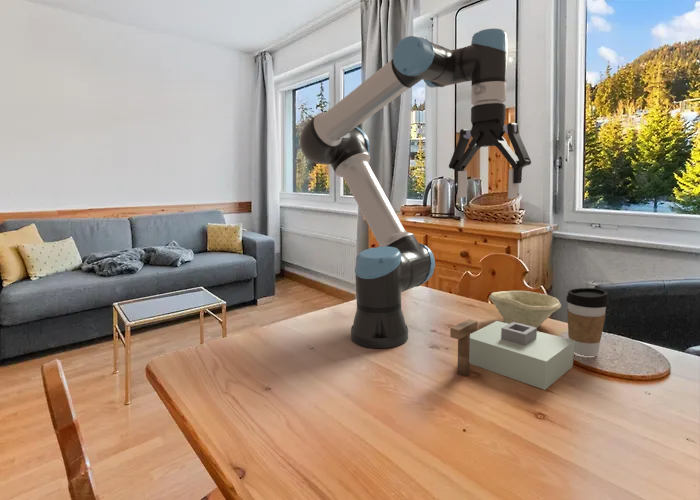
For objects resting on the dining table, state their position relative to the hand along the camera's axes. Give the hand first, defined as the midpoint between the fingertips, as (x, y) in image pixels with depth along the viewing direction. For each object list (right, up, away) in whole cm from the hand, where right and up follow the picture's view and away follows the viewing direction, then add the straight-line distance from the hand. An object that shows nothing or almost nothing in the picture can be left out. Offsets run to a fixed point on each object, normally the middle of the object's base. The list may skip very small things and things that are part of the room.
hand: (486, 198), depth 99 cm
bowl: (+16, -33, +17) cm, 41 cm away
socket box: (+5, -38, -6) cm, 39 cm away
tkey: (-8, -39, -9) cm, 41 cm away
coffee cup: (+22, -37, -1) cm, 43 cm away
